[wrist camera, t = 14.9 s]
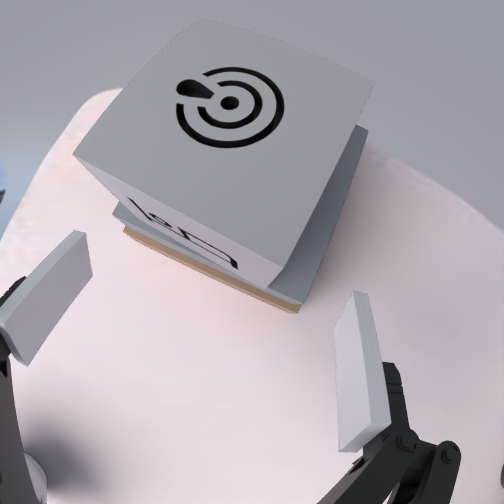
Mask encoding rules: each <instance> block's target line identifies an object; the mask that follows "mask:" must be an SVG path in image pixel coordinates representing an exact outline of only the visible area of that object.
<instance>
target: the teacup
mask: <svg viewBox="0 0 504 504" xmlns="http://www.w3.org/2000/svg"><path fill="white" fill-rule="evenodd" d="M24 455H25V459H26V463H27V466H28V470H29V474H30V477H31V480H32V484H33V487H34V490H35V493H36V496H37V498H38V500H39V502H40V503H41V504H47V502H46V501H47V491H46V486H47V478H46V475H45V473H44V471H43V469H42V468H41V466H40V465H39V464H38V463H37V461H36V460H35V459H33V458H32V457H31V456H30V455H28V454H26V453H24Z"/></svg>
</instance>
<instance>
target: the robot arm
mask: <svg viewBox="0 0 504 504" xmlns="http://www.w3.org/2000/svg"><path fill="white" fill-rule="evenodd" d="M92 276H93V275H92V269H91V264H90V258H89V252H88V245H87V238H86V233H84V232H80V231H75V230H74V231H73V232H72V233H71V234H70V235H69V236H68V237H66V238H65V239H64V240H63V241H62V242H61V243H60V244H59V245H58V246H57V247H56V248H55V249H54V250H53V251H52V252H51V253H50V254H49V255H48V256H47V257H46V258H45V259H44V260H43V261H42V262H41V263H40V264H39V265H38V266H37V267H36V268H35V269H34V270H33V271H32V273H31V274H30V275H29V276H28V277H25V276H24V277H22V278H20V279H19V280H17V281H16V282H15V283H14V284H13V285H12V286H11V287H10V288H9V290H7V291H6V293H5V294H4V296H2V297H1V298H0V504H41V503H40V502H39V500H38V498H37V496H36V493H35V490H34V487H33V484H32V480H31V477H30V474H29V470H28V466H27V463H26V459H25V455H24V451H23V446H22V442H21V437H20V432H19V427H18V422H17V416H16V410H15V403H14V395H13V387H12V377H11V365H10V359H9V357H8V356H9V355H10V353H12V354H13V356H14V358H15V359H16V361H18V362H20V363H22V364H23V365H25V366H27V367H28V365H29V364H30V362H31V361H32V359H33V358H34V356H35V355H36V353H37V352H38V350H39V349H40V347H41V346H42V344H43V343H44V341H45V340H46V338H47V337H48V335H49V334H50V332H51V331H52V330H53V328H54V327H55V325H56V324H57V322H58V321H59V320H60V318H61V317H62V316H63V314H64V313H65V311H66V310H67V309H68V307H69V306H70V305H71V303H72V302H73V301H74V299H75V298H76V297H77V295H78V294H79V293H80V291H81V290H82V289H83V288H84V286H85V285H86V284H87V282H88V281H89V280H90V279H91V277H92ZM333 334H334V347H335V363H336V381H337V405H338V452H357V451H359V450H360V449H361V448H362V447H363V456H361V457H360V458H359V459H357V460H356V461H355V462H353V463H352V464H354V466H353V467H352V468H351V469H350V470H349V471H348V472H347V473H346V474H345V476H344V477H343V478H342V479H341V480H340V481H339V482H338V483H337V484H336V485H335V486H334V487H333V488H332V489H331V490H330V491H329V492H328V493H327V494H326V495H325V496H324V497H323V498H322V499H321V500H320V501H319V502H318V503H317V504H382V503H383V502H384V501H385V500H386V498H387V497H388V496H389V494H390V493H391V491H392V490H393V491H392V493H391V495H390V497H389V500H388V502H387V504H449V503H450V500H451V496H452V493H453V489H454V486H455V482H456V478H457V474H458V470H459V466H460V461H461V452H460V449H459V447H458V446H457V445H456V444H455V443H454V442H452V441H444V442H442V443H440V444H439V445H434V444H431V443H428V442H424V441H422V440H420V439H419V438H418V435H417V434H416V433H415V432H414V431H413V430H411V429H410V426H409V422H408V416H407V410H406V404H405V398H404V395H403V387H402V386H401V385H402V382H401V377H400V373H399V371H398V370H397V368H396V366H395V365H394V363H389V362H382V359H381V354H380V349H379V344H378V338H377V334H376V329H375V324H374V319H373V315H372V310H371V306H370V302H369V297H368V293H363V292H358V291H352V293H351V295H350V297H349V299H348V302H347V304H346V306H345V308H344V310H343V312H342V314H341V316H340V318H339V320H338V322H337V324H336V326H335V328H334V330H333ZM501 485H502V487H503V488H504V466H503V469H502V474H501Z"/></svg>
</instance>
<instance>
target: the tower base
mask: <svg viewBox="0 0 504 504" xmlns="http://www.w3.org/2000/svg"><path fill="white" fill-rule="evenodd" d="M367 134H368V130H366V129H364V128H362V127H360V126H358V125H355V127H354V129H353V131H352V133H351V135H350V137H349V140H348V142H347V144H346V146H345V148H344V150H343V152H342V154H341V156H340V158H339V160H338V162H337V164H336V166H335V168H334V170H333V172H332V175H331V177H330V179H329V181H328V183H327V185H326V187H325V189H324V191H323V193H322V195H321V197H320V199H319V201H318V203H317V205H316V207H315V209H314V211H313V212H312V214H311V216H310V218H309V220H308V222H307V224H306V226H305V228H304V230H303V232H302V234H301V236H300V238H299V240H298V242H297V244H296V246H295V247H294V249H293V251H292V253H291V255H290V257H289V259H288V261H287V263H286V265H285V266H284V268H283V269H282V271H281V272H280V273H279V274H278V275H277V276H276V277H275V279H274V280H273V281H272V282H271V283H270V284H269V285H268V286H267V288H266V289H265V290H264V289H262V288H260V287H259V286H257V285H255V284H253V283H251V282H249V281H248V280H246V279H244V278H242V277H240V276H238V275H237V274H235V273H233V272H231V271H229V270H228V269H226V268H224V267H222V266H220V265H218V264H217V263H215V262H213V261H211V260H209V259H208V258H206V257H204V256H202V255H201V254H199V253H197V252H195V251H193V250H192V249H190V248H188V247H186V246H185V245H183V244H181V243H179V242H177V241H176V240H174V239H172V238H170V237H169V236H167V235H165V234H163V233H162V232H160V231H158V230H156V229H155V228H153V227H151V226H149V225H148V224H146V223H144V222H143V221H141V220H139V219H138V218H137V217H136V216H135V215H134V214H133V213H132V212H131V211H130V210H129V209H128V208H127V207H125V206H124V205H123V204H122V203H121V202H120V201H119V202H118V204H117V206H116V208H115V210H114V212H113V213H112V215H113V216H115V217H116V218H117V219H119V220H120V221H121V222H122V223H124V224H125V225H126V226H125V228H124V230H123V232H124V233H126V234H127V235H129V236H130V237H131V238H133V239H134V240H136V241H137V242H139V243H141V244H143V245H145V246H147V247H149V248H151V249H153V250H155V251H157V252H159V253H161V254H163V255H165V256H167V257H169V258H171V259H173V260H175V261H177V262H179V263H182V264H184V265H186V266H188V267H190V268H192V269H194V270H196V271H198V272H200V273H203V274H205V275H207V276H209V277H211V278H213V279H215V280H217V281H220V282H222V283H224V284H226V285H228V286H230V287H232V288H235V289H237V290H239V291H241V292H243V293H246V294H248V295H250V296H252V297H254V298H257V299H259V300H261V301H263V302H266V303H268V304H270V305H272V306H275V307H277V308H279V309H281V310H284V311H286V312H288V313H298V311H299V309H300V307H301V304H304V302H305V300H306V297H307V295H308V293H309V290H310V288H311V286H312V283H313V281H314V278H315V276H316V274H317V271H318V269H319V266H320V264H321V261H322V259H323V256H324V254H325V251H326V249H327V246H328V244H329V241H330V239H331V236H332V233H333V231H334V228H335V226H336V223H337V220H338V218H339V215H340V212H341V210H342V207H343V204H344V201H345V199H346V196H347V193H348V190H349V188H350V185H351V182H352V179H353V176H354V173H355V170H356V168H357V165H358V162H359V159H360V156H361V153H362V150H363V147H364V144H365V141H366V137H367Z"/></svg>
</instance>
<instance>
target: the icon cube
mask: <svg viewBox="0 0 504 504" xmlns="http://www.w3.org/2000/svg"><path fill="white" fill-rule="evenodd" d="M374 84H375V82H373V81H371V80H369V79H367V78H365V77H363V76H361V75H359V74H357V73H355V72H353V71H351V70H349V69H347V68H345V67H343V66H341V65H339V64H337V63H335V62H332V61H330V60H328V59H326V58H323V57H321V56H319V55H316V54H314V53H311V52H309V51H307V50H304V49H302V48H299V47H296V46H294V45H291V44H289V43H286V42H283V41H281V40H278V39H275V38H272V37H269V36H266V35H263V34H260V33H257V32H254V31H250V30H247V29H244V28H240V27H237V26H233V25H230V24H225V23H222V22H218V21H214V20H210V19H206V18H201V17H198V18H196V19H195V20H194V21H193V22H191V23H190V24H189V25H188V26H187V27H186V28H184V29H183V30H182V31H181V32H180V33H179V34H178V35H176V36H175V37H174V38H173V39H172V40H171V41H170V42H169V43H168V44H167V45H166V46H165V47H164V48H162V49H161V51H159V52H158V53H157V54H156V55H155V56H154V57H153V58H152V59H151V60H150V61H149V62H148V63H147V64H146V65H145V66H144V67H143V69H141V70H140V72H139V73H138V74H137V75H136V76H135V77H134V78H133V79H132V80H131V81H130V82H129V83H128V84H127V86H126V87H125V88H124V89H123V90H122V91H121V92H120V93H119V95H118V96H117V97H116V98H115V99H114V100H113V102H112V103H111V104H110V105H109V106H108V108H107V109H106V110H105V111H104V113H103V114H102V115H101V116H100V118H99V119H98V120H97V121H96V123H95V124H94V125H93V126H92V128H91V129H90V130H89V132H88V133H87V134H86V136H85V137H84V138H83V140H82V141H81V143H80V144H79V145H78V147H77V148H76V150H75V151H74V152H73V154H72V155H73V156H74V157H75V158H76V159H77V160H78V161H79V162H80V163H81V164H82V165H83V166H84V167H85V168H86V169H87V170H88V171H89V172H90V173H91V174H92V175H93V176H94V177H95V178H96V179H98V180H99V181H100V182H101V183H102V184H103V185H104V186H105V187H106V188H107V189H108V190H109V191H110V192H111V193H112V194H113V195H114V196H115V197H116V198H117V199H118V200H119V201H120V202H121V203H122V204H123V205H124V206H125V207H127V208H128V209H129V210H130V211H131V212H132V213H133V214H134V215H135V216H136V217H137V218H138V219H139V220H141V221H143V222H144V223H146V224H148V225H149V226H151V227H153V228H155V229H156V230H158V231H160V232H162V233H163V234H165V235H167V236H169V237H170V238H172V239H174V240H176V241H177V242H179V243H181V244H183V245H185V246H186V247H188V248H190V249H192V250H193V251H195V252H197V253H199V254H201V255H202V256H204V257H206V258H208V259H209V260H211V261H213V262H215V263H217V264H218V265H220V266H222V267H224V268H226V269H228V270H229V271H231V272H233V273H235V274H237V275H238V276H240V277H242V278H244V279H246V280H248V281H249V282H251V283H253V284H255V285H257V286H259V287H260V288H262V289H264V290H265V289H266V288H267V286H268V285H269V284H270V283H271V282H272V281H273V280H274V279H275V277H276V276H277V275H278V274H279V273H280V272H281V271H282V269H283V268H284V266H285V265H286V263H287V261H288V259H289V257H290V255H291V253H292V251H293V249H294V247H295V246H296V244H297V242H298V240H299V238H300V236H301V234H302V232H303V230H304V228H305V226H306V224H307V222H308V220H309V218H310V216H311V214H312V212H313V211H314V209H315V207H316V205H317V203H318V201H319V199H320V197H321V195H322V193H323V191H324V189H325V187H326V185H327V183H328V181H329V179H330V177H331V175H332V172H333V170H334V168H335V166H336V164H337V162H338V160H339V158H340V156H341V154H342V152H343V150H344V148H345V146H346V144H347V142H348V140H349V137H350V135H351V133H352V131H353V129H354V127H355V125H356V122H357V121H358V118H359V116H360V114H361V112H362V110H363V108H364V106H365V103H366V101H367V99H368V97H369V95H370V93H371V90H372V88H373V86H374Z"/></svg>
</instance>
